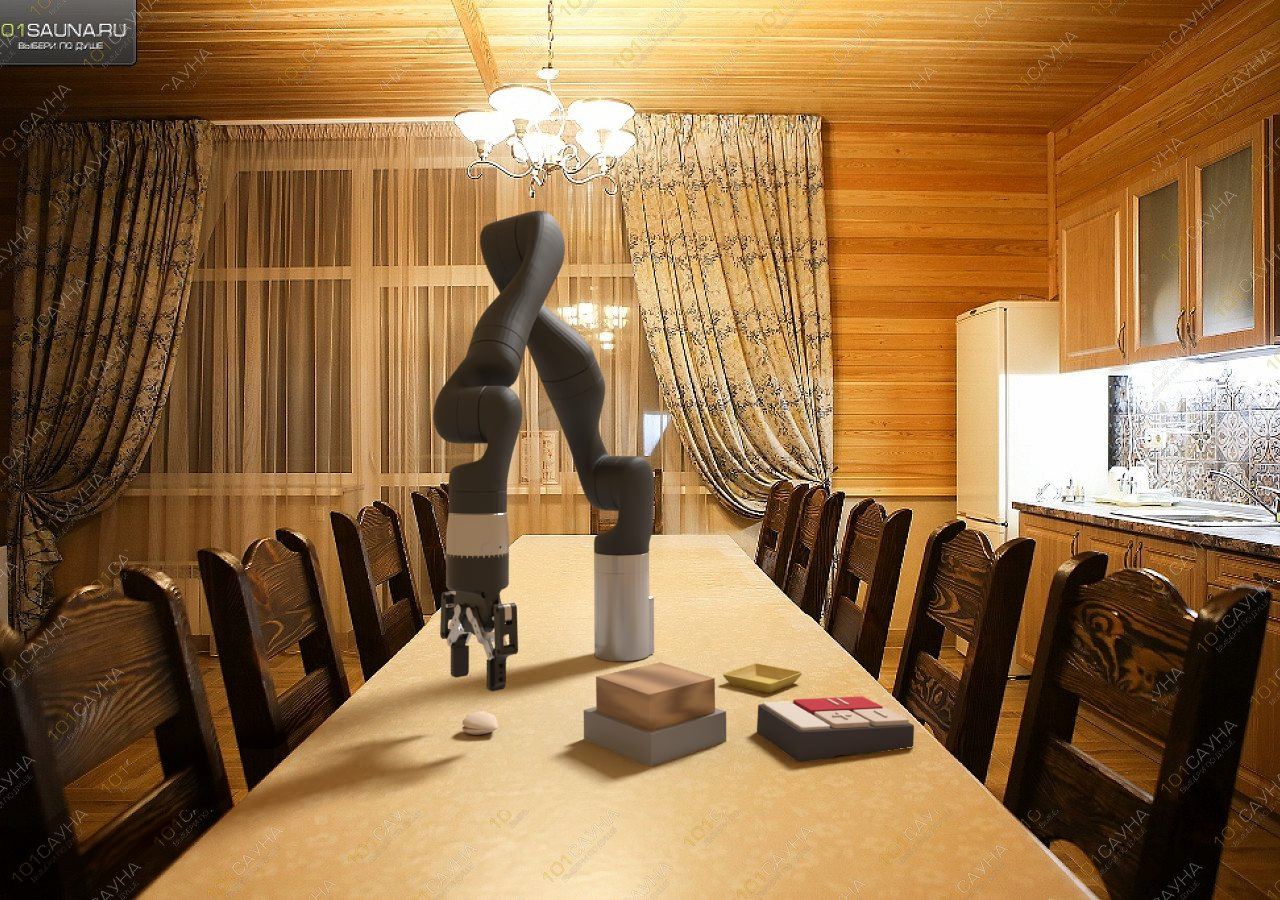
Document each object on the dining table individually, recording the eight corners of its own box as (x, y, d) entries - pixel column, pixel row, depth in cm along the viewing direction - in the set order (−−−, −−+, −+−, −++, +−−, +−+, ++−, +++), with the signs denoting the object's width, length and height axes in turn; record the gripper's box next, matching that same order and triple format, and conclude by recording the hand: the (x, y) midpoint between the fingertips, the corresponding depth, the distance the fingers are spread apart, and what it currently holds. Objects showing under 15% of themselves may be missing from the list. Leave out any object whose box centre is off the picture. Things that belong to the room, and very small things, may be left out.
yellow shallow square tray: (721, 687, 126) (720, 673, 126) (755, 675, 133) (755, 662, 133) (770, 699, 120) (770, 684, 120) (803, 686, 127) (803, 671, 127)
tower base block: (657, 721, 111) (657, 690, 111) (726, 745, 102) (726, 711, 102) (583, 743, 103) (583, 709, 103) (651, 771, 94) (651, 734, 94)
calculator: (916, 718, 100) (800, 725, 95) (914, 756, 100) (798, 764, 95) (863, 693, 110) (756, 697, 106) (862, 727, 110) (755, 733, 106)
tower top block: (660, 693, 109) (659, 662, 109) (715, 712, 102) (714, 678, 102) (596, 709, 103) (595, 676, 103) (649, 730, 95) (649, 694, 95)
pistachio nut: (483, 726, 109) (482, 706, 109) (509, 734, 105) (509, 713, 105) (455, 735, 105) (455, 714, 105) (482, 743, 102) (482, 722, 102)
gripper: (536, 552, 102) (536, 689, 102) (474, 543, 113) (474, 667, 113) (481, 557, 97) (480, 701, 97) (422, 547, 108) (421, 676, 108)
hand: (477, 682), depth 105 cm, fingers open, 8 cm apart
